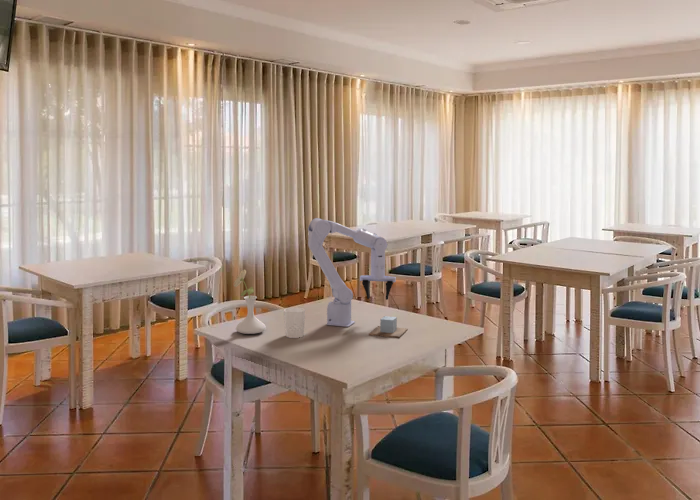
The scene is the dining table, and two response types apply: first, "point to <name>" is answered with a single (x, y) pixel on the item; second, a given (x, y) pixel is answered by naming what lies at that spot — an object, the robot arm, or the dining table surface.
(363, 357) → the dining table surface
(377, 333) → the walnut board
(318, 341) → the dining table surface
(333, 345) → the dining table surface
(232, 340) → the dining table surface
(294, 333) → the white cup
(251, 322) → the flower in vase
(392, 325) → the blue cube
